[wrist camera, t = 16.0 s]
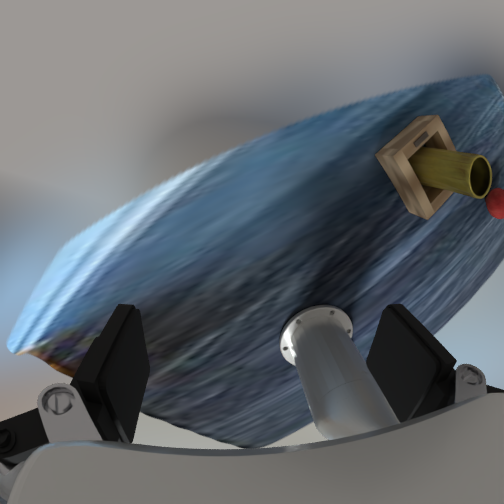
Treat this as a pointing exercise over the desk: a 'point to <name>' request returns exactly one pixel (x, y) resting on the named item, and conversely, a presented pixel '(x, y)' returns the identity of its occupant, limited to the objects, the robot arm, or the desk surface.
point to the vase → (452, 171)
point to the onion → (495, 203)
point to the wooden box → (401, 173)
